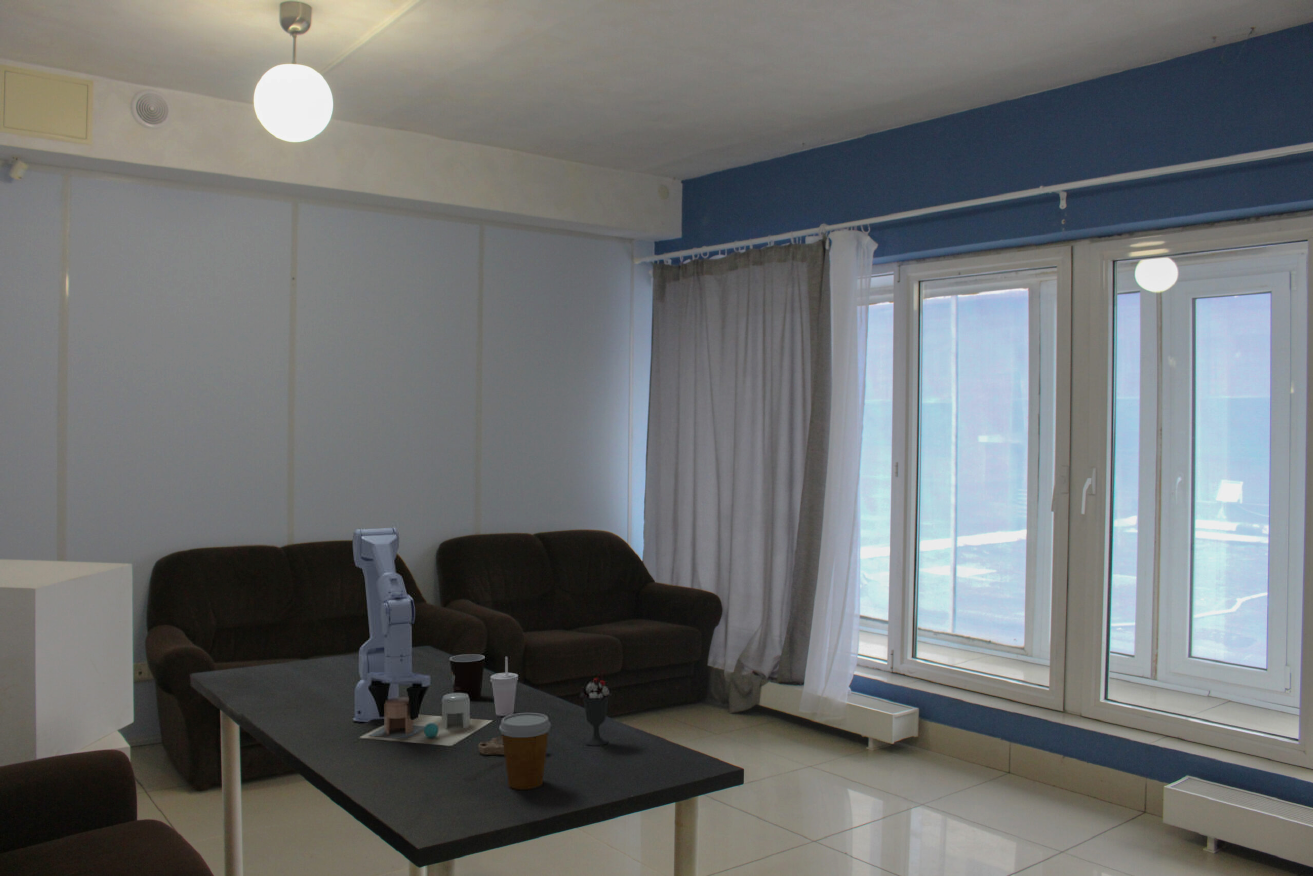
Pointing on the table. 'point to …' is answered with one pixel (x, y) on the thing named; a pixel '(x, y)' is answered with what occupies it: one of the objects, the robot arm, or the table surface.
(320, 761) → the table surface
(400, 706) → the pink stool
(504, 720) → the disposable coffee cup
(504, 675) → the smoothie
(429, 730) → the marble
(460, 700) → the white round stool
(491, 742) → the oil lamp
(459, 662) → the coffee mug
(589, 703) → the sundae
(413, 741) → the board
